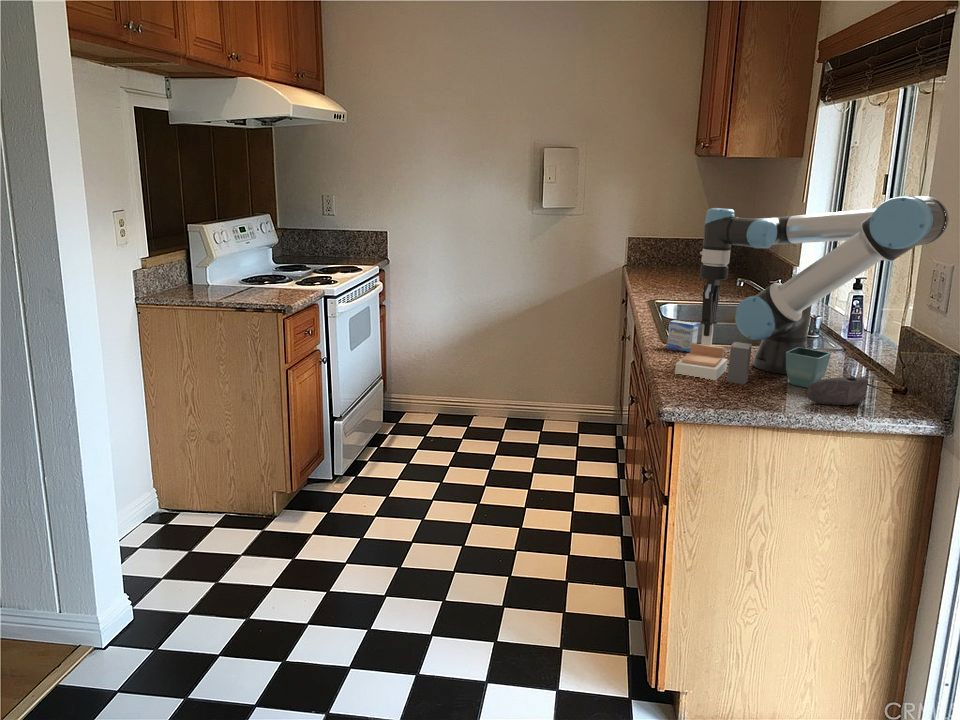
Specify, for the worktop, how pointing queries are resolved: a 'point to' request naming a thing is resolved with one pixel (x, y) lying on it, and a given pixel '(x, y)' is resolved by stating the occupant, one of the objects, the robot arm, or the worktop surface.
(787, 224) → the robot arm
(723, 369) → the socket housing
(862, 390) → the perforated stone tool
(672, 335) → the medicine box
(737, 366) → the plug
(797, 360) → the flower pot
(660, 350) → the worktop surface
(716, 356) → the shutter
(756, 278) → the worktop surface
